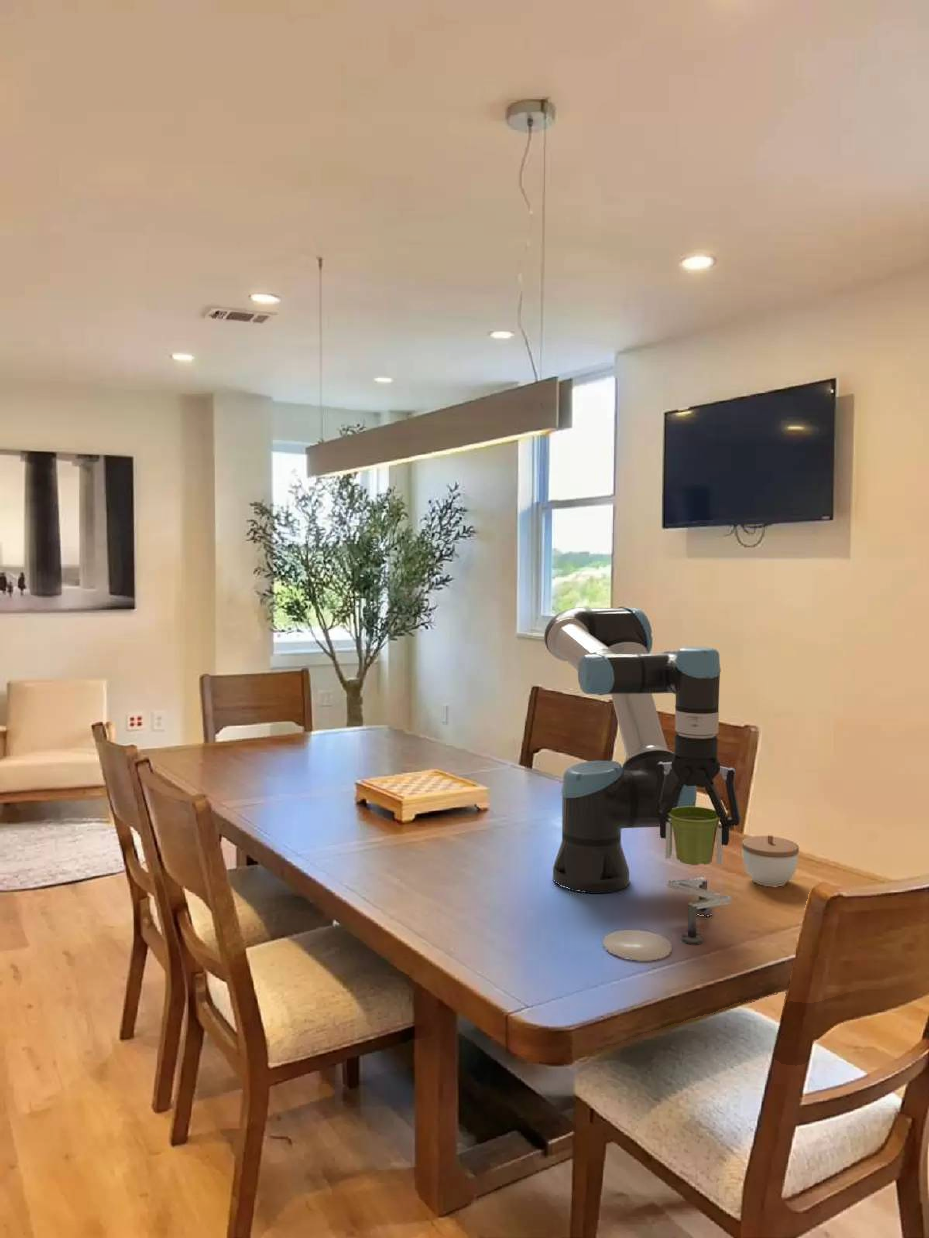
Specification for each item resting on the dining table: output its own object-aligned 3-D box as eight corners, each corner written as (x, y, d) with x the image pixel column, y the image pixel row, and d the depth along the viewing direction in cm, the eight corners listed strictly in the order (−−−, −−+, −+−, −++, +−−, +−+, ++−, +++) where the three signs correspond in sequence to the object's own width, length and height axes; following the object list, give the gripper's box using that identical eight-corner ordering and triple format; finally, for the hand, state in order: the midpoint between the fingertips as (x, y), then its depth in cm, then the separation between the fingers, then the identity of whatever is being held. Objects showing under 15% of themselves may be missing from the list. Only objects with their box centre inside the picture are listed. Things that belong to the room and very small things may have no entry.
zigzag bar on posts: (656, 938, 153) (657, 900, 153) (672, 905, 168) (673, 870, 168) (725, 949, 149) (726, 910, 148) (735, 914, 164) (736, 878, 163)
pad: (596, 954, 147) (596, 950, 147) (611, 929, 157) (611, 925, 157) (664, 965, 143) (665, 962, 143) (676, 939, 153) (676, 935, 153)
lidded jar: (761, 893, 174) (762, 845, 174) (730, 875, 185) (731, 830, 184) (809, 888, 177) (810, 841, 177) (776, 870, 188) (777, 826, 187)
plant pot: (659, 862, 162) (660, 815, 162) (677, 848, 170) (678, 803, 169) (711, 872, 157) (712, 823, 157) (727, 857, 165) (728, 810, 164)
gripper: (633, 733, 162) (631, 858, 164) (756, 742, 155) (753, 873, 156) (640, 726, 169) (638, 845, 171) (759, 734, 162) (756, 859, 163)
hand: (693, 858), depth 164 cm, fingers closed on plant pot, 8 cm apart
